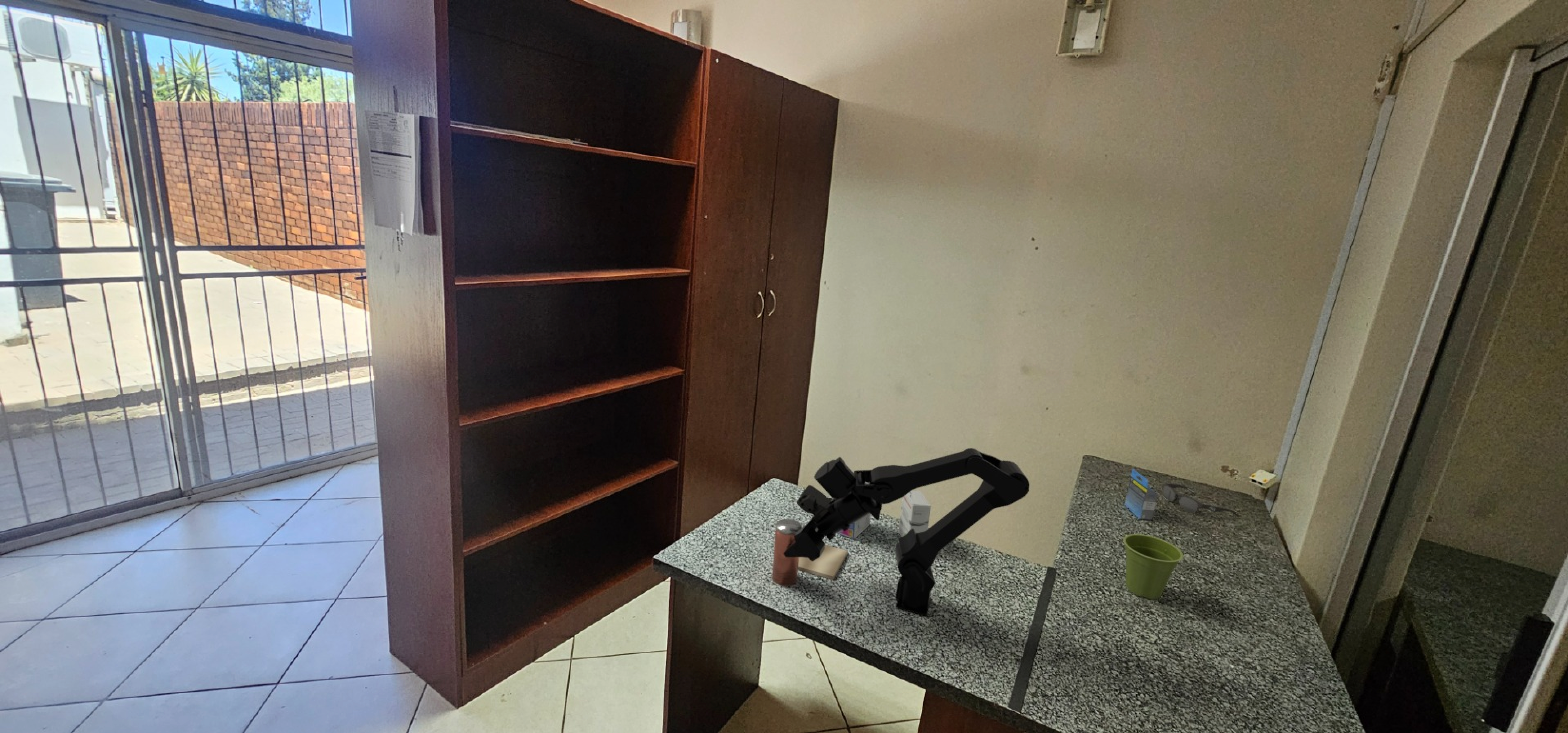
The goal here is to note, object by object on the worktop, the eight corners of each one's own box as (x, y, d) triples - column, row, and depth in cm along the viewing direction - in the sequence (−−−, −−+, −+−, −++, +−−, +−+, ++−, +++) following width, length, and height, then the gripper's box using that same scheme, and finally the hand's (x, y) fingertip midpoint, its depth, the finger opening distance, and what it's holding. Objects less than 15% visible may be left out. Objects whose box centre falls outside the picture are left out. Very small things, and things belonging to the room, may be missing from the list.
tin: (800, 575, 137) (805, 522, 134) (792, 588, 132) (796, 534, 129) (777, 568, 139) (781, 516, 136) (767, 581, 134) (771, 528, 131)
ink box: (926, 548, 152) (932, 505, 149) (906, 548, 152) (912, 505, 149) (915, 531, 160) (921, 490, 158) (897, 530, 160) (902, 489, 157)
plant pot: (1122, 569, 149) (1132, 528, 146) (1178, 593, 141) (1189, 549, 138) (1106, 587, 141) (1116, 544, 138) (1163, 613, 133) (1175, 567, 130)
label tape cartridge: (1152, 520, 177) (1162, 481, 174) (1139, 519, 177) (1148, 480, 174) (1136, 506, 185) (1144, 468, 182) (1123, 505, 185) (1131, 467, 182)
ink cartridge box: (851, 518, 165) (857, 468, 161) (870, 525, 162) (876, 474, 158) (834, 532, 156) (839, 481, 153) (853, 540, 154) (859, 487, 150)
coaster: (847, 553, 147) (847, 550, 147) (833, 579, 136) (833, 576, 136) (800, 541, 151) (801, 538, 151) (783, 565, 140) (783, 562, 140)
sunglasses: (1152, 494, 195) (1156, 480, 194) (1192, 497, 200) (1197, 483, 199) (1196, 519, 180) (1202, 504, 179) (1239, 522, 184) (1245, 507, 183)
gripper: (835, 464, 135) (785, 497, 142) (808, 497, 118) (752, 534, 125) (865, 504, 135) (814, 536, 141) (843, 544, 118) (785, 578, 124)
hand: (792, 544), depth 133 cm, fingers open, 9 cm apart
